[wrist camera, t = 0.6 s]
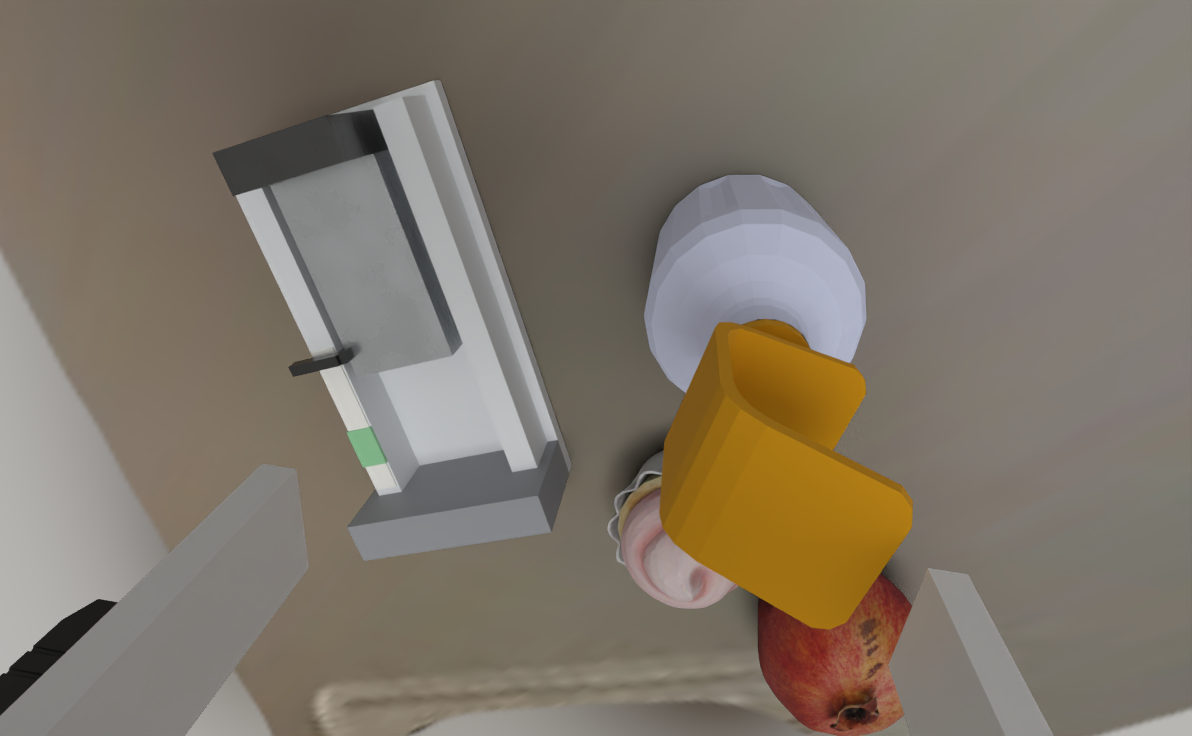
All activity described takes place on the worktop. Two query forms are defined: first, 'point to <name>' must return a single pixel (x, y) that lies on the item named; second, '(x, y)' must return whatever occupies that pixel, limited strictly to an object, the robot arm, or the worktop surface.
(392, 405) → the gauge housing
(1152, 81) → the worktop surface
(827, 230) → the soap bottle
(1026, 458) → the worktop surface
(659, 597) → the cupcake
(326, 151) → the block with dark end
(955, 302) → the worktop surface
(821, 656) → the fruit
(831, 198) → the worktop surface
